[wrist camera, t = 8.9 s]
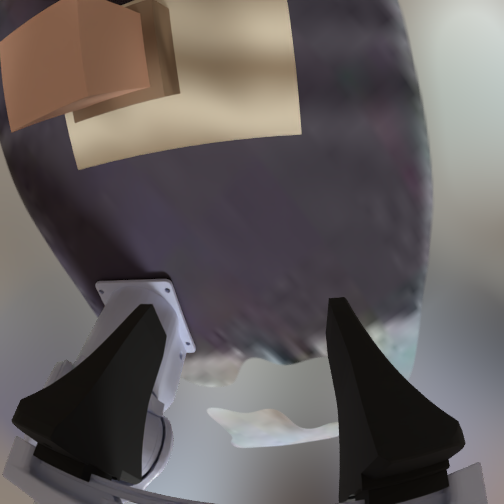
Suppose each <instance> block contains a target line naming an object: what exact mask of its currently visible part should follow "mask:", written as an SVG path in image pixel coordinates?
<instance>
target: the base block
mask: <svg viewBox="0 0 504 504" xmlns="http://www.w3.org/2000/svg"><path fill="white" fill-rule="evenodd" d="M125 8H128V9H130V10H133V11H135V12H138V13H140V16H141V25H142V34H143V41H144V49H145V56H146V63H147V70H148V76H149V83H150V87H148V88H144V89H141V90H137V91H134V92H130V93H127V94H124V95H120V96H117V97H114V98H111V99H108V100H105V101H102V102H99V103H97V104H94V105H91V106H88V107H86V108H83V109H80V110H76V111H73V117H74V122H75V123H77V122H80V121H83V120H86V119H89V118H92V117H95V116H98V115H101V114H105V113H108V112H111V111H114V110H117V109H121V108H124V107H128V106H131V105H135V104H138V103H142V102H146V101H150V100H154V99H158V98H162V97H167V96H171V95H176V94H181V93H180V87H179V80H178V73H177V67H176V60H175V52H174V45H173V38H172V30H171V22H170V13H169V9H168V8H167V7H165V6H164V5H162V4H160V3H159V2H157V1H156V0H144V1H141V2H138V3H135V4H132V5H129V6H127V7H125Z"/></svg>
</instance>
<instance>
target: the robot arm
mask: <svg viewBox="0 0 504 504" xmlns="http://www.w3.org/2000/svg"><path fill="white" fill-rule="evenodd" d="M95 287H96V289H97V291H98V293H99V295H100V297H101V299H102V301H103V303H104V305H105V307H104V309H103V311H102V312H101V314H100V316H99V318H98V319H97V321H96V323H95V325H94V327H93V329H92V331H91V333H90V334H89V336H88V338H87V340H86V342H85V344H84V346H83V348H82V350H81V352H80V354H79V355H78V357H77V359H76V361H75V362H74V364H73V365H72V363H71V362H69V361H68V360H65V361H64V362H57V364H56V365H55V367H54V369H53V371H52V372H51V374H50V376H49V378H48V380H47V382H46V384H45V386H44V388H43V389H42V390H40V391H38V392H36V393H35V394H32V395H30V396H28V397H26V398H24V399H21V400H20V403H19V405H18V407H17V409H16V411H15V414H14V416H13V419H12V423H13V424H14V425H15V426H16V427H17V428H19V429H20V430H21V431H22V432H24V433H25V436H24V439H25V440H23V439H21V438H19V437H18V436H17V437H16V438H15V440H14V443H13V446H12V448H11V451H10V454H9V456H8V459H7V462H6V465H5V468H4V471H3V474H2V475H3V476H4V477H5V478H6V479H7V480H9V481H10V482H12V483H13V484H14V485H16V486H17V487H18V488H19V489H21V490H22V491H23V492H25V493H26V494H27V495H29V496H30V497H31V498H33V499H34V500H35V501H34V504H123V503H126V502H134V503H137V504H213V503H204V502H198V501H192V500H186V499H180V498H175V497H170V496H165V495H161V494H156V493H152V492H148V491H144V490H145V488H146V487H147V486H148V485H149V483H150V482H151V481H152V480H153V479H154V478H156V477H157V476H159V475H160V474H161V473H162V471H163V470H164V469H165V467H166V465H167V463H168V461H169V459H170V456H171V453H172V449H173V432H172V428H171V424H170V422H169V420H168V419H167V418H166V417H165V416H163V412H164V411H165V410H166V409H168V408H169V406H170V405H171V404H172V402H173V401H174V399H175V396H176V392H177V388H178V384H179V380H180V376H181V372H182V368H183V364H184V360H185V356H186V352H187V353H193V352H195V350H196V347H195V344H194V342H193V339H192V337H191V334H190V331H189V329H188V326H187V323H186V321H185V318H184V315H183V312H182V310H181V307H180V304H179V301H178V298H177V295H176V293H175V290H174V287H173V284H172V282H171V281H170V280H169V279H144V280H116V281H97V283H96V284H95ZM166 288H168V289H170V290H168V289H166ZM102 290H103V291H102ZM326 340H327V351H328V359H329V364H330V369H331V374H332V379H333V385H334V390H335V395H336V400H337V408H338V421H339V443H340V480H339V503H338V504H487V496H486V490H485V484H484V478H483V473H482V468H481V464H480V463H479V462H477V463H475V464H473V465H471V466H468V467H466V468H463V469H461V470H458V471H456V472H454V473H451V474H449V475H447V470H446V469H448V468H449V466H450V465H449V460H448V459H449V458H451V457H452V456H453V455H455V454H456V453H458V452H459V451H460V450H461V449H462V448H463V447H464V445H465V440H464V436H463V432H462V429H461V427H460V425H459V422H458V421H457V420H455V419H454V418H453V417H451V416H450V415H448V414H447V413H445V412H444V411H442V410H441V409H440V408H438V407H437V406H436V405H435V404H433V403H432V402H430V401H429V400H428V399H427V398H426V397H425V396H424V395H422V394H421V393H420V392H419V391H418V390H417V389H416V388H414V386H412V385H411V384H410V383H409V382H408V381H407V380H406V379H405V378H404V377H403V376H402V375H401V374H400V373H399V372H398V370H397V369H396V368H395V367H394V366H393V365H392V364H391V363H390V362H389V360H388V359H387V358H386V357H385V356H384V354H383V353H382V352H381V350H380V349H379V348H378V347H377V345H376V344H375V343H374V341H373V340H372V339H371V337H370V336H369V334H368V333H367V331H366V330H365V329H364V327H363V326H362V324H361V323H360V321H359V319H358V318H357V316H356V315H355V313H354V311H353V310H352V308H351V306H350V305H349V303H348V301H347V299H346V298H345V297H341V298H329V304H328V316H327V326H326Z"/></svg>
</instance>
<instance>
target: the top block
mask: <svg viewBox="0 0 504 504" xmlns="http://www.w3.org/2000/svg"><path fill="white" fill-rule="evenodd" d="M0 58H1V70H2V80H3V88H4V95H5V101H6V107H7V113H8V118H9V123H10V128H11V133H12V132H15V131H17V130H20V129H22V128H25V127H27V126H30V125H33V124H35V123H38V122H41V121H44V120H47V119H50V118H53V117H56V116H59V115H62V114H66V113H69V112H73V111H76V110H80V109H83V108H86V107H88V106H91V105H94V104H97V103H99V102H102V101H105V100H108V99H111V98H114V97H117V96H120V95H124V94H127V93H130V92H134V91H137V90H141V89H144V88H148V87H150V83H149V76H148V70H147V63H146V56H145V49H144V41H143V34H142V25H141V16H140V13H138V12H135V11H133V10H130V9H128V8H125V7H123V6H120V5H118V4H115V3H112V2H109V1H107V0H60V1H58V2H56V3H55V4H53V5H51V6H50V7H48V8H47V9H45V10H44V11H42V12H40V13H39V14H37V15H36V16H34V17H33V18H32V19H30V20H29V21H27V22H26V23H24V24H23V25H22V26H20V27H19V28H18V29H16V30H15V31H14V32H12V33H11V34H10V35H9V36H7V37H6V38H5V39H4V40H2V41H1V42H0Z"/></svg>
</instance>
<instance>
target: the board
mask: <svg viewBox="0 0 504 504" xmlns="http://www.w3.org/2000/svg"><path fill="white" fill-rule="evenodd" d="M141 1H144V0H134V1H132V2H129V3H126V4H123V5H121V6H123V7H127V6H129V5H132V4H135V3H138V2H141ZM156 1H157V2H159V3H160V4H162V5H164V6H165V7H167V8H168V9H169V13H170V22H171V30H172V38H173V45H174V52H175V60H176V67H177V73H178V80H179V87H180V93H181V94H176V95H171V96H167V97H162V98H158V99H154V100H150V101H146V102H142V103H138V104H135V105H131V106H128V107H124V108H121V109H117V110H114V111H111V112H108V113H105V114H101V115H98V116H95V117H92V118H89V119H86V120H83V121H80V122H77V123H75V122H74V117H73V112H69V113H66V114H65V117H66V122H67V127H68V131H69V135H70V140H71V144H72V148H73V152H74V156H75V159H76V163H77V167H78V170H80V169H84V168H88V167H91V166H95V165H99V164H103V163H107V162H111V161H115V160H120V159H124V158H129V157H133V156H138V155H143V154H148V153H153V152H158V151H163V150H169V149H174V148H180V147H186V146H193V145H199V144H206V143H213V142H221V141H229V140H238V139H247V138H258V137H269V136H283V135H300V134H301V121H300V109H299V97H298V86H297V76H296V66H295V57H294V49H293V40H292V32H291V25H290V17H289V10H288V4H287V0H156Z"/></svg>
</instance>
